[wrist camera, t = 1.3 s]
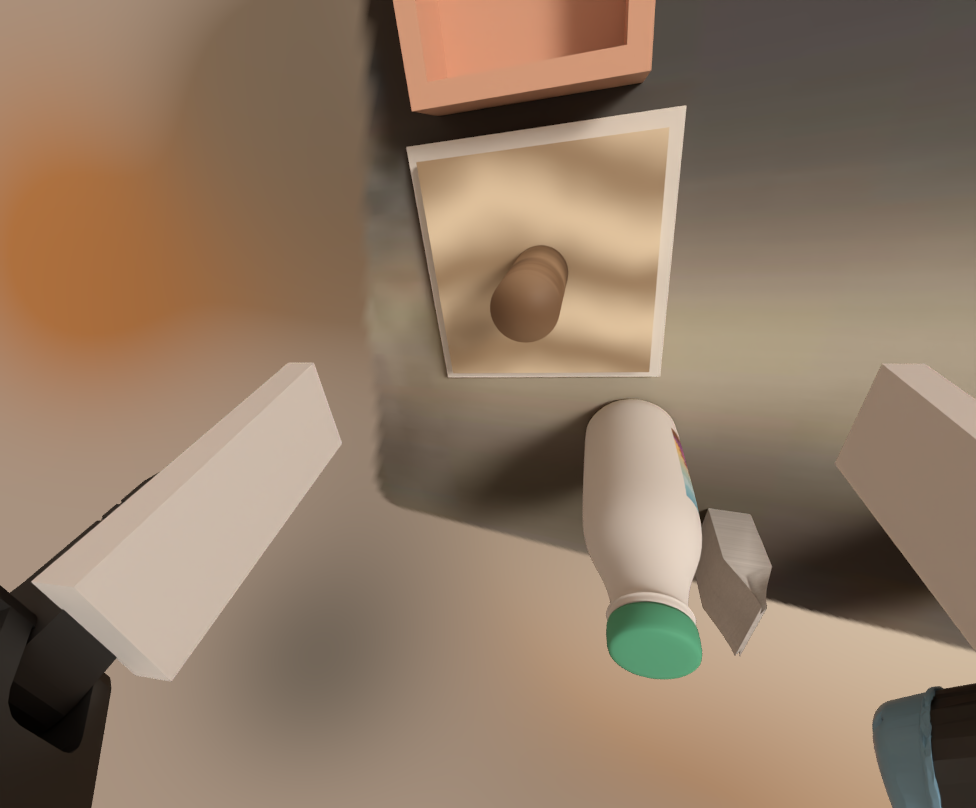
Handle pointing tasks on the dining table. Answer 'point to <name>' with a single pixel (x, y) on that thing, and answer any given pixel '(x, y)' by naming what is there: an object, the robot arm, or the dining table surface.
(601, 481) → the milk bottle
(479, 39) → the dish
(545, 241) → the lid
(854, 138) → the dining table surface
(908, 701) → the robot arm
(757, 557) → the grey box
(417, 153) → the mat
